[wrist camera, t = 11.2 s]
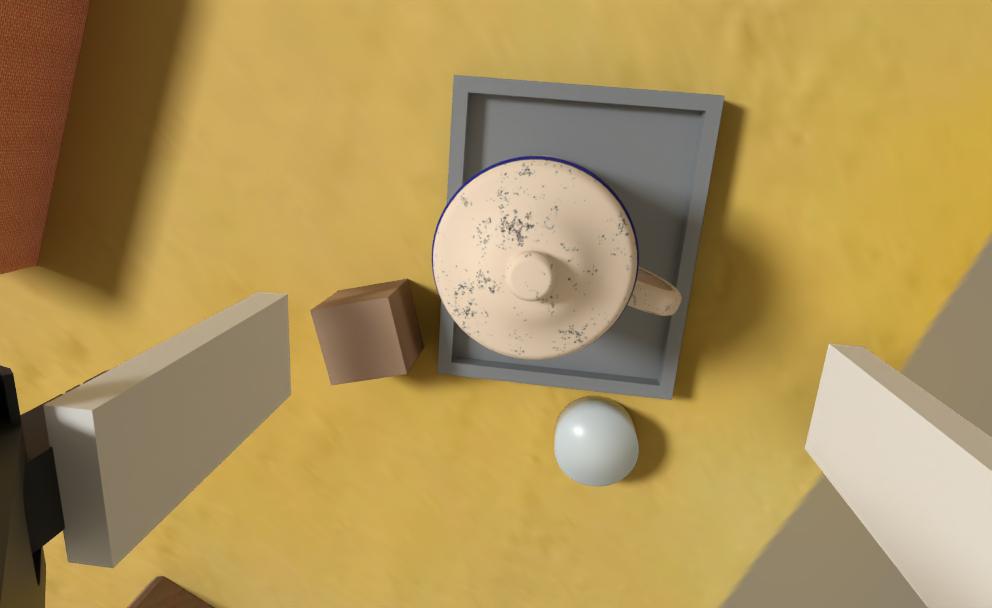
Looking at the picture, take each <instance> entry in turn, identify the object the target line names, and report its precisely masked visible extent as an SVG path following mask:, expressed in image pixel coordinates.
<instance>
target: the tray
mask: <svg viewBox="0 0 992 608" xmlns="http://www.w3.org/2000/svg"><path fill="white" fill-rule="evenodd" d="M723 102H724V96H723V95H710V94H696V93H683V92H670V91H657V90H644V89H630V88H617V87H604V86H591V85H578V84H565V83H551V82H538V81H525V80H512V79H499V78H486V77H472V76H459V75H454V83H453V101H452V119H451V136H450V154H449V172H448V190H447V204H448V202H449V201H450V199H451V198H452V197H453V195H454V194H455V193H456V192H457V190H458V189H459V188H460V187H461V186H462V185H463V184H464V183H465V182H467V181H468V180H469V179H470V178H471V177H473V176H474V175H476V174H477V173H479V172H480V171H482V170H484V169H485V168H487V167H489V166H491V165H494V164H496V163H498V162H501V161H505V160H508V159H512V158H517V157H524V156H536V155H546V156H554V157H559V158H562V159H565V160H568V161H571V162H573V163H575V164H577V165H579V166H581V167H583V168H585V169H587V170H589V171H590V172H592V173H593V174H595V175H596V176H598V177H599V178H600V179H602V180H603V181H604V182H605V183H606V184H607V185H608V186H609V187H610V188H611V189H612V190H613V191H614V192H615V193H616V195H617V196H618V197H619V199H620V200H621V201H622V203H623V204H624V206H625V208H626V209H627V211H628V213H629V215H630V218H631V220H632V222H633V225H634V228H635V232H636V236H637V240H638V248H639V267H641V268H643V269H645V270H647V271H649V272H651V273H653V274H655V275H657V276H659V277H661V278H662V279H664V280H666V281H667V282H669V283H670V284H671V285H673V286H674V287H675V288H676V289H677V290H678V291H679V292H680V294H681V297H682V300H681V303H680V305H679V307H678V309H677V311H676V312H675V313H674V314H672V315H670V316H661V315H656V314H652V313H648V312H645V311H642V310H639V309H636V308H634V307H631V306H629V305H627V306H626V308H625V310H624V311H623V313H622V315H621V316H620V317H619V319H618V320H617V321H616V322H615V324H614V325H613V326H612V327H611V328H610V329H609V330H608V331H607V332H606V333H605V334H604V335H602V336H601V337H600V338H599V339H597V340H596V341H594V342H593V343H591V344H590V345H588V346H586V347H584V348H583V349H580V350H578V351H576V352H574V353H571V354H568V355H565V356H561V357H557V358H551V359H542V360H528V359H519V358H514V357H510V356H506V355H503V354H500V353H497V352H495V351H493V350H490V349H488V348H486V347H485V346H483V345H481V344H480V343H478V342H477V341H475V340H474V339H472V338H471V337H470V336H469V335H468V334H466V333H465V332H464V331H463V330H462V329H461V328H460V327H459V326H458V325H457V323H456V322H455V321H454V320H453V319H452V317H451V316H450V314H449V313H448V311H447V310H446V308H445V306H444V304H443V303H442V300H441V316H440V334H439V352H438V369H437V373H438V374H447V375H455V376H464V377H473V378H482V379H491V380H500V381H509V382H517V383H526V384H535V385H544V386H553V387H562V388H571V389H579V390H588V391H597V392H606V393H615V394H624V395H633V396H641V397H650V398H659V399H668V400H672V395H673V389H674V383H675V378H676V372H677V366H678V360H679V355H680V349H681V343H682V337H683V332H684V326H685V320H686V314H687V309H688V303H689V297H690V291H691V286H692V280H693V274H694V269H695V263H696V257H697V251H698V246H699V240H700V234H701V228H702V223H703V217H704V211H705V205H706V200H707V194H708V188H709V182H710V177H711V171H712V165H713V159H714V154H715V148H716V142H717V137H718V131H719V125H720V119H721V114H722V108H723Z"/></svg>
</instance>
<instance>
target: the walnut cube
mask: <svg viewBox="0 0 992 608" xmlns="http://www.w3.org/2000/svg"><path fill="white" fill-rule="evenodd" d="M310 311H311V315H312V318H313V322H314V325H315V329H316V332H317V336H318V340H319V343H320V347H321V350H322V354H323V357H324V361H325V364H326V368H327V371H328V375H329V379H330V382H331V385H337V384H344V383H351V382H358V381H364V380H371V379H378V378H384V377H391V376H398V375H405V374H407V373H408V372H409V370H410V368H411V367H412V365H413V364H414V362H415V361H416V359H417V357H418V356H419V354H420V353H421V351H422V350H423V348H424V346H423V342H422V337H421V333H420V329H419V325H418V321H417V316H416V312H415V308H414V304H413V300H412V295H411V291H410V287H409V283H408V279H403V280H397V281H392V282H386V283H380V284H374V285H369V286H363V287H357V288H351V289H346V290H340V291H337V292H336V293H334V294H333V295H332V296H330V297H329V298H327V299H326V300H325V301H323V302H322V303H320V304H319V305H317V306H316V307H315V308H313V309H312V310H310Z"/></svg>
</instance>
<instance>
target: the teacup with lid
mask: <svg viewBox="0 0 992 608" xmlns="http://www.w3.org/2000/svg"><path fill="white" fill-rule="evenodd" d="M432 269H433V276H434V280H435V284H436V288H437V291H438V293H439V296H440V298H441V300H442V303H443V304H444V306H445V308H446V310H447V311H448V313H449V314H450V316H451V317H452V319H453V320H454V321H455V322H456V323H457V325H458V326H459V327H460V328H461V329H462V330H463V331H464V332H465V333H466V334H468V335H469V336H470V337H471V338H472V339H474V340H475V341H477V342H478V343H480V344H481V345H483V346H485V347H486V348H488V349H490V350H493V351H495V352H497V353H500V354H503V355H506V356H510V357H514V358H519V359H528V360H542V359H551V358H557V357H561V356H565V355H568V354H571V353H574V352H576V351H578V350H580V349H583V348H584V347H586V346H588V345H590V344H591V343H593V342H594V341H596V340H597V339H599V338H600V337H601V336H602V335H604V334H605V333H606V332H607V331H608V330H609V329H610V328H611V327H612V326H613V325H614V324H615V322H616V321H617V320H618V319H619V317H620V316H621V315H622V313H623V311H624V310H625V308H626V306H627V305H629V306H631V307H634V308H636V309H639V310H642V311H645V312H648V313H652V314H656V315H661V316H670V315H672V314H674V313H675V312H676V311H677V309H678V307H679V305H680V303H681V300H682V297H681V294H680V292H679V291H678V290H677V289H676V288H675V287H674V286H673V285H671V284H670V283H669V282H667V281H666V280H664V279H662V278H661V277H659V276H657V275H655V274H653V273H651V272H649V271H647V270H645V269H643V268H641V267H639V248H638V240H637V236H636V232H635V228H634V225H633V222H632V220H631V218H630V215H629V213H628V211H627V209H626V208H625V206H624V204H623V203H622V201H621V200H620V199H619V197H618V196H617V195H616V193H615V192H614V191H613V190H612V189H611V188H610V187H609V186H608V185H607V184H606V183H605V182H604V181H603V180H602V179H600V178H599V177H598V176H596V175H595V174H593V173H592V172H590V171H589V170H587V169H585V168H583V167H581V166H579V165H577V164H575V163H573V162H571V161H568V160H565V159H562V158H559V157H554V156H546V155H536V156H524V157H517V158H512V159H508V160H505V161H501V162H498V163H496V164H494V165H491V166H489V167H487V168H485V169H484V170H482V171H480V172H479V173H477V174H476V175H474V176H473V177H471V178H470V179H469V180H468V181H467V182H465V183H464V184H463V185H462V186H461V187H460V188H459V189H458V190H457V192H456V193H455V194H454V195H453V197H452V198H451V199H450V201H449V202H448V204H447V205H446V207H445V209H444V211H443V213H442V215H441V217H440V219H439V222H438V224H437V227H436V231H435V234H434V240H433V245H432Z"/></svg>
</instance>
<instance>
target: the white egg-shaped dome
mask: <svg viewBox="0 0 992 608" xmlns="http://www.w3.org/2000/svg"><path fill="white" fill-rule="evenodd" d="M638 455H639V444H638V440H637V436H636V432H635V428H634V424H633V421H632V418H631V416H630V414H629V413H628V412H627V410H626V409H625V408H624V407H623V406H622V405H620V404H619V403H618V402H616V401H614V400H612V399H610V398H606V397H602V396H587V397H582V398H579V399H577V400H575V401H573V402H571V403H570V404H568V405H567V406H566V407H565V408H564V409H563V410H562V412H561V413H560V415H559V416H558V418H557V421H556V425H555V456H556V460H557V462H558V464H559V466H560V468H561V469H562V470H563V472H564V473H565V474H566V475H567V476H568V477H570V478H571V479H573V480H574V481H576V482H578V483H581V484H584V485H588V486H596V487H598V486H607V485H611V484H614V483H616V482H618V481H620V480H622V479H623V478H625V477H626V476H627V475H628V474H629V473H630V472H631V471H632V469H633V468H634V466H635V464H636V462H637V459H638Z"/></svg>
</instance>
